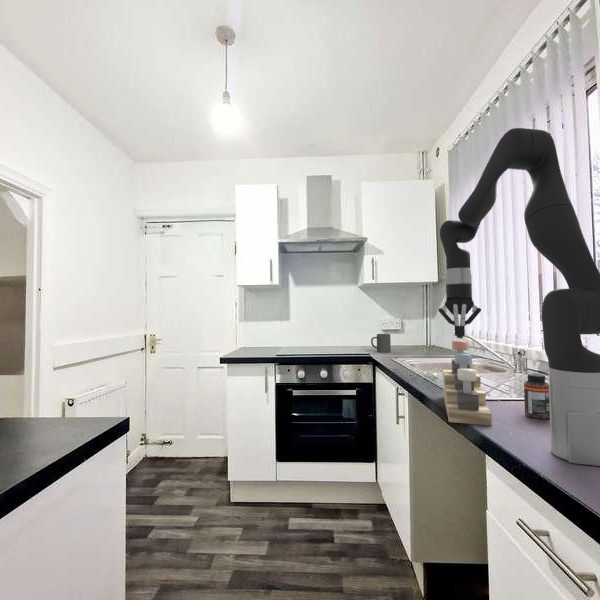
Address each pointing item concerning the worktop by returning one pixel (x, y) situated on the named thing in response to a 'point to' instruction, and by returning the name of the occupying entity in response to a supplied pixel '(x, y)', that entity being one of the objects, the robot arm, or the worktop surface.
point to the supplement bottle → (536, 397)
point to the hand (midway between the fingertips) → (459, 337)
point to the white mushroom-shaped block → (467, 378)
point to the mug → (382, 343)
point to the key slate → (463, 360)
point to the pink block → (460, 346)
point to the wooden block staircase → (464, 399)
